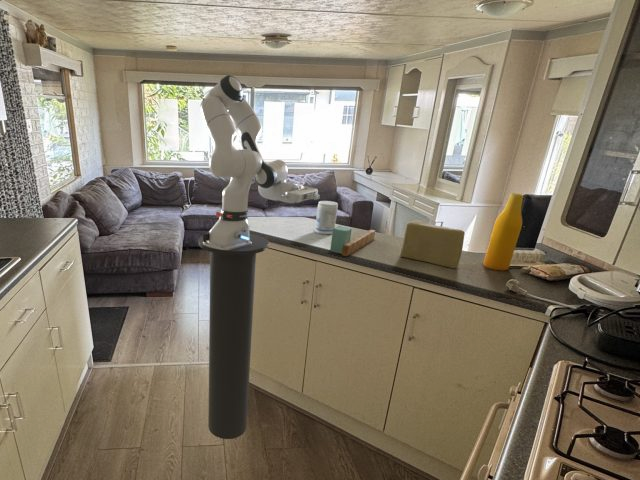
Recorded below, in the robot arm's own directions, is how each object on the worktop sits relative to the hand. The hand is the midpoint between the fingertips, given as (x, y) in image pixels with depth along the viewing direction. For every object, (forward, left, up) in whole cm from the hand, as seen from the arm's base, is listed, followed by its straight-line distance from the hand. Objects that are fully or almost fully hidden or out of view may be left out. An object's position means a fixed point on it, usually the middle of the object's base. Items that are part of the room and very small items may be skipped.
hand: (318, 197), depth 190 cm
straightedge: (+5, -20, -20) cm, 29 cm away
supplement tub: (+18, +3, -20) cm, 27 cm away
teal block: (-7, -16, -20) cm, 26 cm away
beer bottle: (+16, -73, -20) cm, 78 cm away
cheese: (+5, -50, -20) cm, 55 cm away
